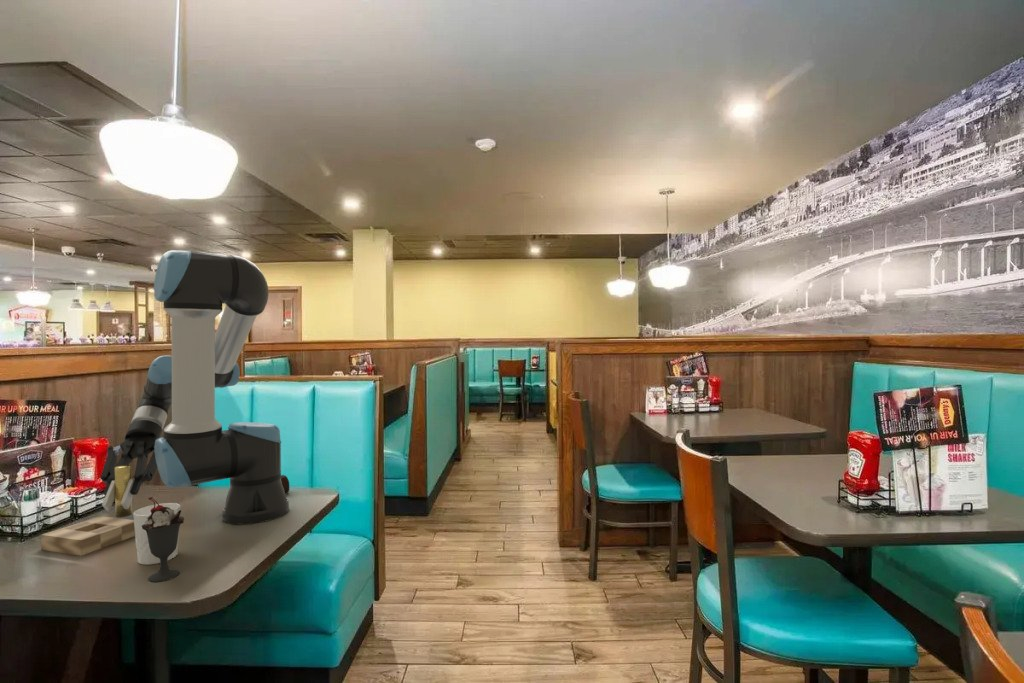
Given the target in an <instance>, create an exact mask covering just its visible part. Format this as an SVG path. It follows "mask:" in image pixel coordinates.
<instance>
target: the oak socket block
mask: <svg viewBox="0 0 1024 683" xmlns="http://www.w3.org/2000/svg"><path fill="white" fill-rule="evenodd" d="M133 537H135V530H134V520H129V519H120V518H113V517H111V516H96V517H94V518H90V519H87V520H84V521H81V522H77V523H74V524H71V525H68V526H64V527H62V528H58V529H55V530H52V531H49V532H46V533H42V534H40V550H42V551H48V552H54V553H62V554H69V555H74V556H83V555H88V554H90V553H92V552H95V551H97V550H98V551H99V550H100V549H103V548H106V547H108V546H111V545H113V544H114V545H115V544H117V543H120V542H123V541H125V540H127V539H131V538H133Z"/></svg>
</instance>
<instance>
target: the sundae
mask: <svg viewBox="0 0 1024 683" xmlns="http://www.w3.org/2000/svg"><path fill="white" fill-rule="evenodd" d="M148 500H150V501H152V502H153V505H154V508H152V509H151V510H150V511H151V515H149V516H148V517H147V520H146V521H145V524H144V525H142V529H144V530H146V532H147V537H148V542H149V548H150V551H151V554H153V555H154V556H155V557H158V558H159V559H160V563H159V569H158V571H157V572H155V573H152V574H150V575H149V576H148V578H147V581H148V582H151V583H158V582H159V583H160V582H164V581H169V580H171V578H172V579H173V578H176V577H178V576H179V574H180V570H179V569H173V568H171V569H170V568H169V565H168V564H169V562H168V561H169V560H168V557H169V556H170V555H171V554H172V553H173V552H174V550H175V549H176V546H177V541H178V533H179V534H180V528H179V527H180V526H181V525H182V524H183V523H184V521H185V517H184V516H181V513H182V510H181V509H180V510H179V511H178V512H177V513H176V514H174V510H172V509H171V508H169V507H163V505H159V504H160V503H158V502H157V500H155V499H154V498H153V496H151V497H148ZM155 504H158V506H157V507H156V508H155ZM178 542H179V541H178ZM175 576H176V577H175Z"/></svg>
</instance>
